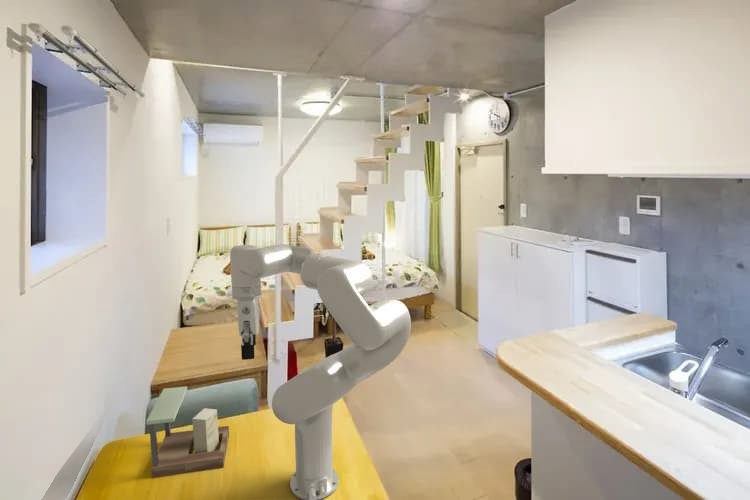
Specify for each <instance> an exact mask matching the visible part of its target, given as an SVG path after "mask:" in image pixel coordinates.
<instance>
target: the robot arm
mask: <svg viewBox="0 0 750 500" xmlns="http://www.w3.org/2000/svg"><path fill="white" fill-rule="evenodd" d="M229 259H230V260H229V261H230V281H231V298H232V299H233V300H236V308H237V309H236V311H237V325H238V334H239V336H240V337H241V345H240V347H241V348H240V350H241V360H243V361H246V360H254V359H255V346H256V344H257V338H256V337H257V335H259V330H260V317H259V316H260V315H259V311H260V310H259V298H261V297H262V281H261V279H264V278H268V277H270V276H271V277H272V276H275V275H278V274H282V273H293V274H298V275H300V278H301V279H300V280H301V282H302V284H303V286H305V288H308V289H311V290H315V291H317V294H318V296H319V298H320V300H321V302H322V304H323V305H324V306H325V308H326V309H327V310H328V312H329V314H330V315H331V316H332V317H333V319H334V320H335V322H336V323H337V324H338V326H339V327H340V329H341V330H342V332H343V333H344V334H345V336H346V337H347V338H348V340H349V341H350V342H351V343H352V344H351V345H349V346H347V347H345V348H344V349H342V350H340V351H338V352H336V353H334V354H330V355H329V356H326V357H325V358H323V359H322V360H321V361H319V362H317V363H316V364H314V365H313V366H311V367H308V368H306V369H305V370H302V371H301V372H300V373H298V374H297V375H295V376H293V377H291V378H290V379H289V380H287V381H286V382H284V383H283V384H281V385H280V386H278V388H276V390H275V391H274V393H273V396H272V399H271V409H272V412H273V414H274V416H275V417H276V418H277V419H278V421H280V422H282V423H285V424H287V425H294V445H295V447H294V449H295V472H294V473H293V474H292V475H291V477H290V480H289V487H290V490H291V492H292V494H293V495H294V496H296V497H297V498H298V499H301V500H321V499H325V498H326V497H328V496H330V495H331V494H332V493H334V492H335V491H336V489H337V488H338V486H339V474H338V472H337V471H336V469H334V468H333V410H334V409H333V408H334V404H336V403H337V402H339V401H340V400H341V399H342V398H343V397H344V396H345V395H347V394H348V393H349V392H350V391H351V390H353V389H354V387H356V386H357V385H359V384H360V383H362V382H363V381H365V380H367V379H369V378H371V377H372V376H373V375H375V374H376V373H378V372H380V371H381V370H383V369H385V368H386V367H387V366H389V365H390V364H391V363H393V362H394V361H395V360H396V359H397V358H398V356H400V354H401V353H402V351H403V350H404V348H405V347H406V345H407V343H408V341H409V339H410V335H411V329H412V321H411V320H412V318H411V315H410V311H409V309H408V307H407V306H406V305H405V304H404V302H402V301H400V300H398V299H394V298H387V299H382V300H379V301H376V302H375V303H372V304H370V305H369V304H368V303H367V302H366V301H365V300H364V298H363V296H365V295H366V294H367V293H368V292H369V290H371V287H372V285H373V280H374V279H373V278H374V276H373V272H372V270H371V269H370V268H369V267H368V266H367V265H366V264H365V263H362V262H360V261H357V260H356V261H355V260H352V259H347V258H346V259H345V258H341V257H336V256H330V255H324V254H319V253H316V252H315V251H314V250H311V249H310V248H307V247H303V246H298V245H292V244H283V243H282V244H275V245H270V246H269V245H268V246H264V247H258V246H256V245H254V244H253V245H252V244H244V245H243V244H242V245H236V246H233V247H231V249H230V251H229Z"/></svg>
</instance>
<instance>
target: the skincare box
mask: <svg viewBox="0 0 750 500" xmlns="http://www.w3.org/2000/svg"><path fill="white" fill-rule="evenodd" d="M218 427H219V421H218V409H215V408H206V407H204V408H203V409H201V410H200V412H198V413H197V414H196V415H195V416H194V417H192V430H193V437H194V447H193V450H194V454H196V453H203V452H210V451H218V450H219V449H220V443H219V434H218Z"/></svg>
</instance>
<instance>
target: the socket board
mask: <svg viewBox="0 0 750 500" xmlns="http://www.w3.org/2000/svg"><path fill="white" fill-rule="evenodd" d="M187 391H188V386H178V387H167V388H163V389H162V391H161V393H160V395H159V396H158V398H157V400H156V402H155V404H154V405H153V407H152V410H151V411H150V413H149V415H148V417H147V419H146V421H145V422H146V424H145V425H148V426H149V437H150V440H149V441H150V451H151V452H150V453H151V463H152V465H151V468H150V469H151V470H150V471H151V478H152V479H155V478H162V477H163V478H164V477H168V476H169V477H171V476H177V475H182V474H183V475H184V474H190V473H197V472H203V471H211V470H216V469H217V470H218V469H224V466H225V461H226V454H227V449H228V448H227V447H228V442H229V436H230V426H229V425H224V426H218V434H219V444H220V445H219V449H217V450H216V451H210V452H203V453H196V454H195V453H192V452H193V450H194V437H193V429H191V430H183V431H176V432H175V431H174V432H171V431H172V430H171V422H173V423H174V422H175V420H176V417H177V415H178V413H179V409H180V408H181V405H182V403H183V400H184V399H185V396H186V393H187ZM163 423H164V432H165V433H164V434H165V435H164V437H163V439H162V442H161V445H160V446H159V449H158V439H157V426H156V425H158V424H163Z"/></svg>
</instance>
